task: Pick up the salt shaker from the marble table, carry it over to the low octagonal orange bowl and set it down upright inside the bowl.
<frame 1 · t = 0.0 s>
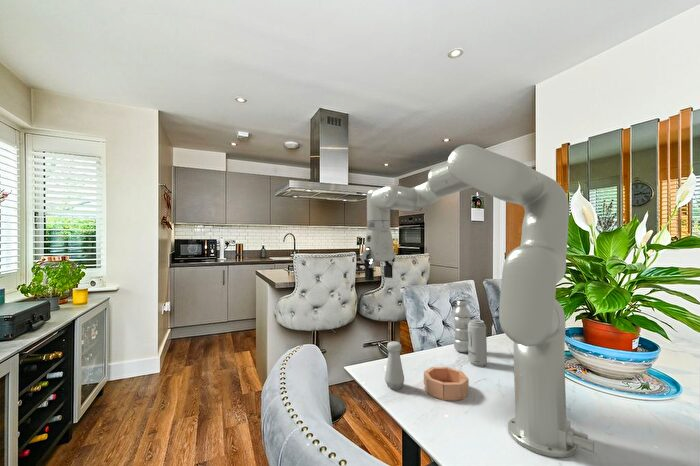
hand: (379, 278, 98), 31 cm above the table, tool pointing down, fingers open, 9 cm apart
plastic bottle: (462, 352, 117), on the table
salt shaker: (394, 387, 89), on the table
octagonal orange bowl: (445, 390, 87), on the table
energy drink can: (477, 364, 105), on the table
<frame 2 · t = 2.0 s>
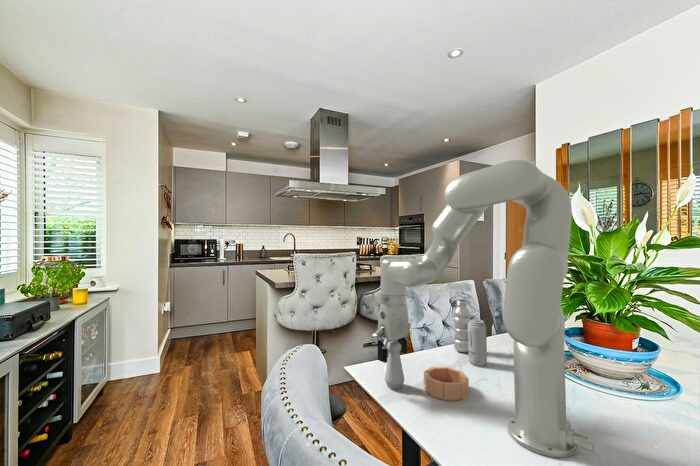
hand: (392, 356, 90), 9 cm above the table, tool pointing down, fingers open, 9 cm apart
nothing on the table moved.
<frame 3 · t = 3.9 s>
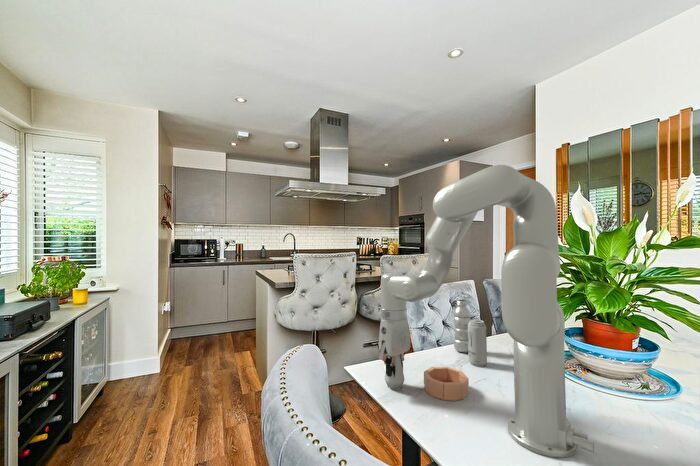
hand: (394, 375, 89), 3 cm above the table, tool pointing down, fingers closed on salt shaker, 3 cm apart
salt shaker: (394, 387, 89), on the table, touching gripper
everything else where it was.
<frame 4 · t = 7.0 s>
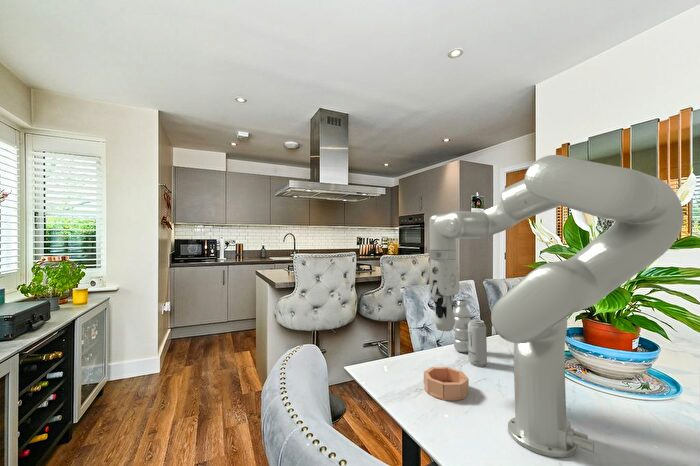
hand: (444, 318, 87), 21 cm above the table, tool pointing down, fingers closed on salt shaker, 3 cm apart
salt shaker: (444, 330, 87), point 17 cm above the table, touching gripper
everything else where it was.
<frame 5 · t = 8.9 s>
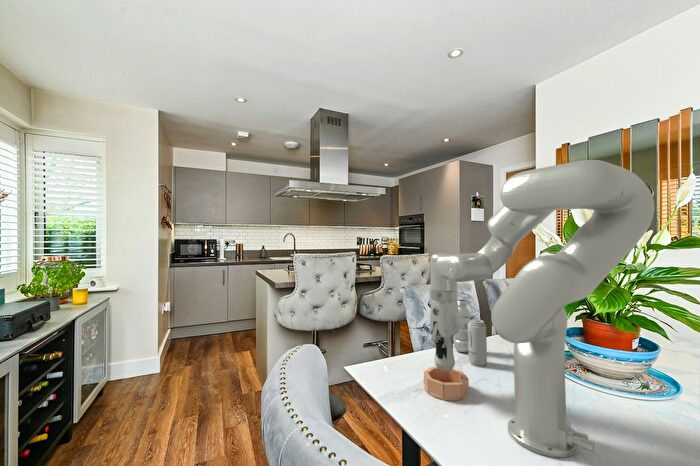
hand: (444, 358, 87), 9 cm above the table, tool pointing down, fingers closed on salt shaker, 3 cm apart
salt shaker: (444, 369, 87), point 6 cm above the table, touching gripper
everything else where it was.
when the fingers open (6 cm above the table, at t = 10.3 s): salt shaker drops 1 cm, resting on octagonal orange bowl.
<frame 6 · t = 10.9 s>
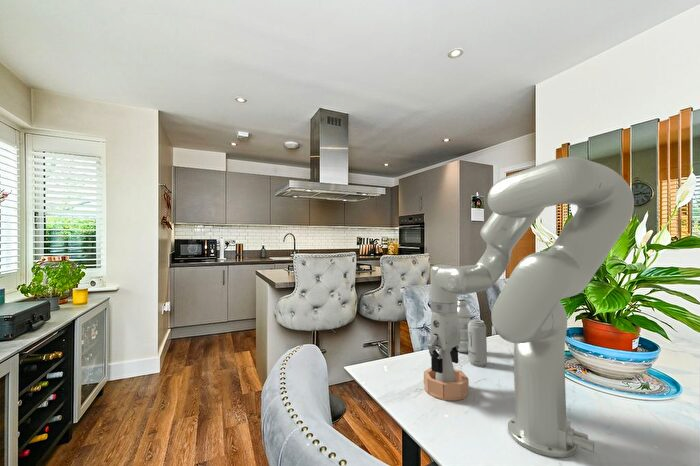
hand: (445, 366, 87), 7 cm above the table, tool pointing down, fingers open, 9 cm apart
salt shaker: (446, 388, 87), point 1 cm above the table, touching octagonal orange bowl
everything else where it was.
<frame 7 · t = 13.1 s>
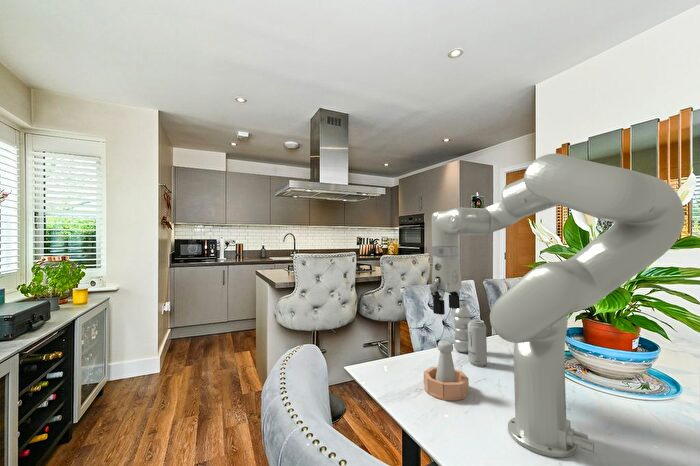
hand: (446, 311, 88), 23 cm above the table, tool pointing down, fingers open, 9 cm apart
nothing on the table moved.
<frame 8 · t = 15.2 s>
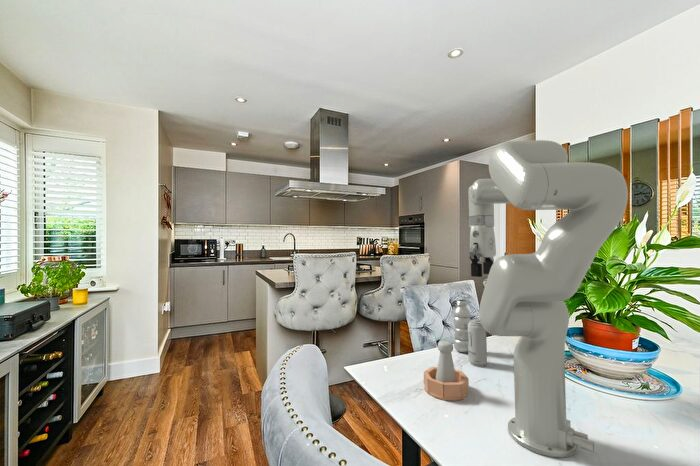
hand: (482, 275, 96), 32 cm above the table, tool pointing down, fingers open, 9 cm apart
nothing on the table moved.
at the end: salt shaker 0.2 cm from the octagonal orange bowl (horizontally); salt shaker tilted 0°; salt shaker point 0.6 cm above the table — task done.
